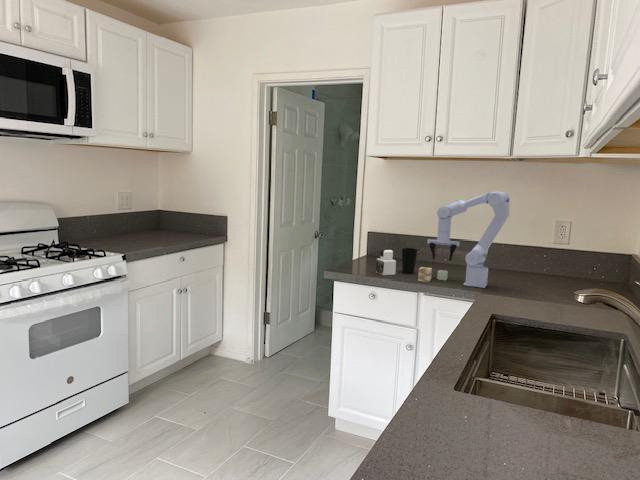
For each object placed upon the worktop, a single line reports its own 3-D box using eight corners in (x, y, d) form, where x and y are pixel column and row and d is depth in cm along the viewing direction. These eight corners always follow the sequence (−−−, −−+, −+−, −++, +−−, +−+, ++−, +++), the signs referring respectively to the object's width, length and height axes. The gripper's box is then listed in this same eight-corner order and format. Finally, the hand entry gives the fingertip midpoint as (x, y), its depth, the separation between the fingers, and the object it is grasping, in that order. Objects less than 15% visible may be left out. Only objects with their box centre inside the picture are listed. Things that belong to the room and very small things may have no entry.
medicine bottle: (375, 272, 238) (376, 248, 236) (387, 271, 240) (389, 248, 239) (382, 275, 231) (384, 251, 229) (395, 274, 234) (397, 250, 232)
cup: (409, 274, 235) (410, 250, 233) (397, 272, 241) (398, 248, 239) (419, 273, 240) (420, 249, 238) (407, 270, 245) (408, 247, 244)
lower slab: (431, 280, 225) (431, 274, 224) (428, 282, 220) (429, 276, 220) (420, 279, 227) (421, 273, 226) (418, 281, 222) (418, 274, 222)
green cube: (447, 279, 229) (447, 271, 228) (445, 280, 225) (446, 272, 225) (438, 278, 231) (439, 269, 230) (437, 279, 227) (437, 271, 226)
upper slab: (431, 274, 224) (432, 268, 224) (429, 276, 220) (429, 269, 220) (421, 273, 227) (421, 266, 226) (418, 274, 222) (419, 268, 222)
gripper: (460, 231, 226) (458, 260, 228) (429, 229, 231) (428, 257, 233) (459, 233, 219) (457, 262, 221) (427, 230, 225) (425, 259, 227)
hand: (442, 259), depth 227 cm, fingers open, 7 cm apart
